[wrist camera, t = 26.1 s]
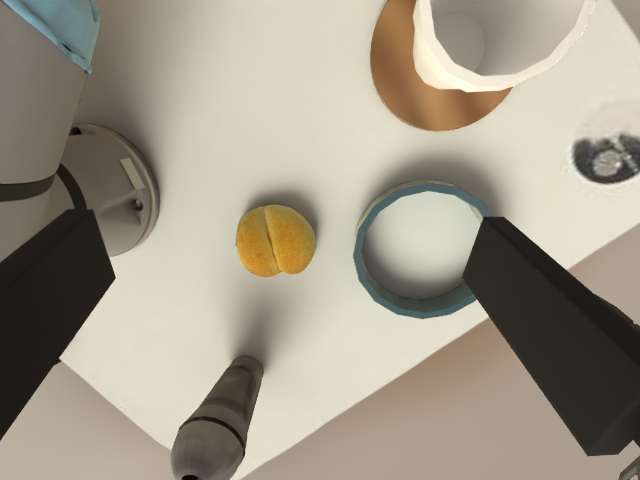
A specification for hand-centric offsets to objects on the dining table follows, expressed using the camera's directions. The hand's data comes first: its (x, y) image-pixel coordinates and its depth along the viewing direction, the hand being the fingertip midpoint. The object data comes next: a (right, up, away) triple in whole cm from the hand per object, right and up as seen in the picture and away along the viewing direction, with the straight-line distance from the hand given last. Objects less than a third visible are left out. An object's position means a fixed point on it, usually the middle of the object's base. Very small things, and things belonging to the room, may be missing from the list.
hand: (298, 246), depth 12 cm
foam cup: (+13, +18, +19) cm, 29 cm away
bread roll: (-4, 0, +27) cm, 28 cm away
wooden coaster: (+13, +18, +20) cm, 29 cm away
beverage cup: (-9, -17, +33) cm, 39 cm away
